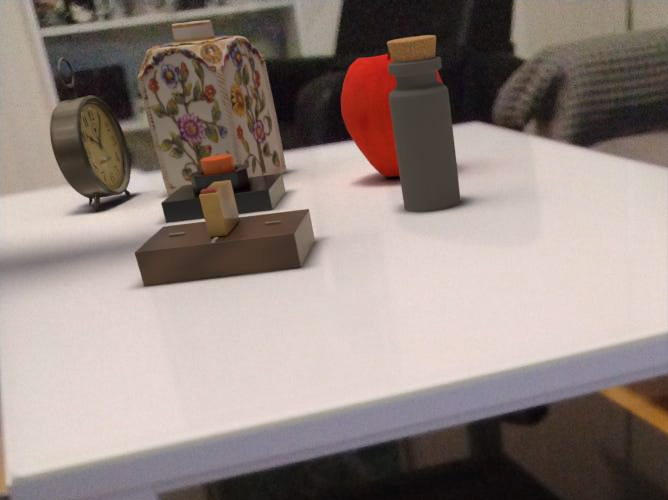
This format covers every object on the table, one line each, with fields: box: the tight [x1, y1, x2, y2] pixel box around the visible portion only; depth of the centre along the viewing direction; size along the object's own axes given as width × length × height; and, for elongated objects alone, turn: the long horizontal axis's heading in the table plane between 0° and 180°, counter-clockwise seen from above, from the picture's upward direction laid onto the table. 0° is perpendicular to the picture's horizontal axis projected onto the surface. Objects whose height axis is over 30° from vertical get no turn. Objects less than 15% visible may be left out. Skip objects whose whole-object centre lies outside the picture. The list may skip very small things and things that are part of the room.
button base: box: [160, 164, 287, 224], centre depth 116 cm, size 12×10×4 cm
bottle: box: [386, 34, 461, 213], centre depth 101 cm, size 6×6×15 cm
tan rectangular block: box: [199, 180, 240, 237], centre depth 90 cm, size 6×2×4 cm, turn 0°
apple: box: [340, 47, 444, 178], centre depth 117 cm, size 12×12×13 cm
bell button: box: [200, 154, 236, 175], centre depth 114 cm, size 4×4×2 cm
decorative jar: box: [136, 19, 287, 196], centre depth 125 cm, size 12×12×18 cm
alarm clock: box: [49, 56, 132, 213], centre depth 123 cm, size 11×5×16 cm, turn 171°
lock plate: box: [134, 208, 316, 287], centre depth 92 cm, size 14×10×3 cm
